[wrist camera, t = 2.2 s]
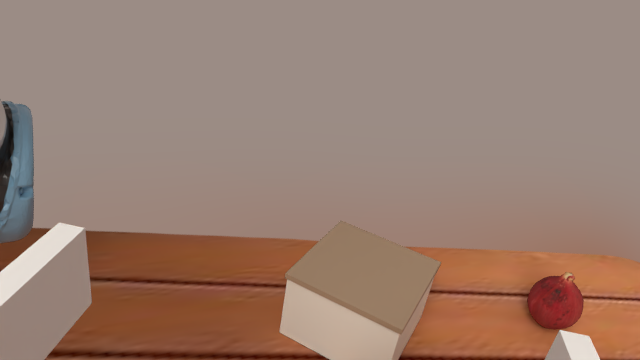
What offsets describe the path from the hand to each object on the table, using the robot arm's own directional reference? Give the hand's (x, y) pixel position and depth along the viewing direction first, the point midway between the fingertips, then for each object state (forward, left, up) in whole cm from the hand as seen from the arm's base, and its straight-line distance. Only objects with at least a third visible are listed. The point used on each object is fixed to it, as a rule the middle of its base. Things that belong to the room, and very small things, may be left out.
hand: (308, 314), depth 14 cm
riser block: (-7, +31, -29) cm, 43 cm away
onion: (+12, +45, -30) cm, 55 cm away
